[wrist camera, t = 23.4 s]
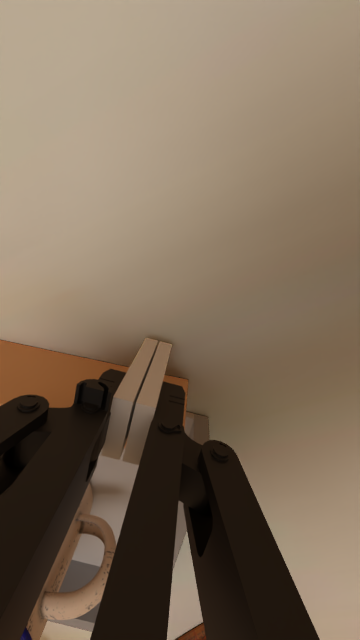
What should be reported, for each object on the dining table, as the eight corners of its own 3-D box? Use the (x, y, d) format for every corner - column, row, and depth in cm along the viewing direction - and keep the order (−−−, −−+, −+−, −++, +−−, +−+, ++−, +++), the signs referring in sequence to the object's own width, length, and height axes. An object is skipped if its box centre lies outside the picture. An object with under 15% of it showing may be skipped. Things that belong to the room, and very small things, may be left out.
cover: (188, 379, 18) (183, 442, 13) (185, 392, 19) (179, 459, 13) (-88, 321, 18) (-217, 356, 13) (-87, 335, 19) (-213, 375, 13)
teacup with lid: (-3, 532, 23) (-200, 817, 11) (-33, 438, 20) (-322, 683, 9) (141, 534, 22) (80, 847, 10) (128, 436, 19) (30, 707, 8)
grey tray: (215, 395, 19) (223, 463, 13) (154, 580, 24) (141, 688, 18) (-121, 308, 18) (-267, 338, 13) (-108, 514, 24) (-206, 601, 18)
